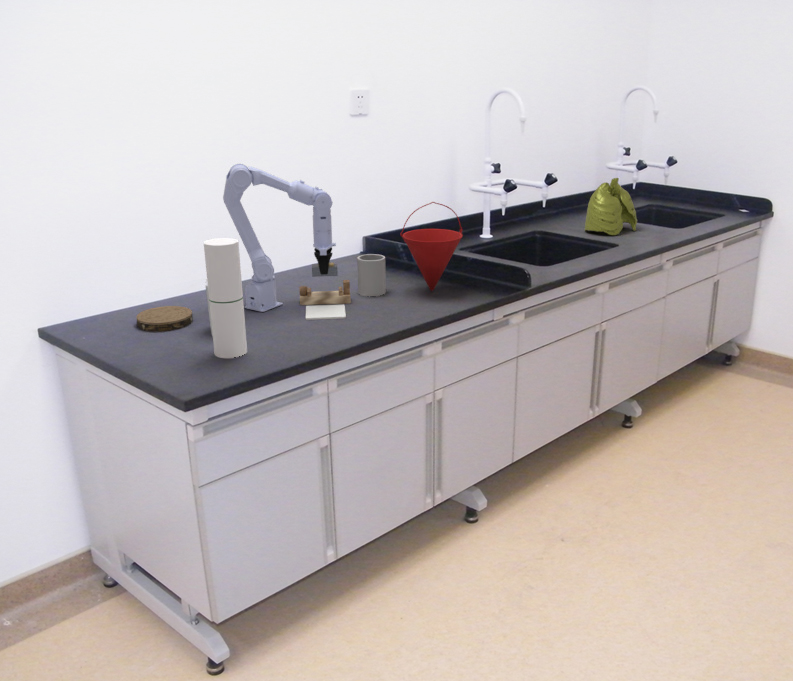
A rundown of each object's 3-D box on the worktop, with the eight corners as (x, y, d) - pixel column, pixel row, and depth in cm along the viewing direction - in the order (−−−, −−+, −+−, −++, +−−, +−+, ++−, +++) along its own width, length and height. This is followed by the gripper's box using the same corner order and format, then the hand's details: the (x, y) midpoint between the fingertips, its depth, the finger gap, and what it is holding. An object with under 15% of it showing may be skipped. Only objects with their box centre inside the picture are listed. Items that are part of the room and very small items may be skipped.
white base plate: (305, 320, 226) (305, 318, 226) (306, 307, 237) (306, 305, 237) (345, 318, 227) (345, 316, 227) (344, 306, 238) (344, 304, 238)
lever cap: (312, 276, 238) (311, 265, 237) (312, 273, 242) (311, 262, 241) (337, 276, 239) (337, 264, 238) (337, 272, 243) (337, 261, 241)
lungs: (606, 238, 326) (611, 181, 317) (578, 232, 337) (582, 177, 329) (642, 230, 340) (648, 176, 331) (614, 225, 351) (619, 172, 343)
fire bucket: (450, 280, 265) (452, 194, 255) (473, 296, 248) (475, 204, 237) (392, 286, 259) (391, 198, 249) (410, 302, 242) (410, 208, 231)
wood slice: (164, 312, 235) (163, 303, 234) (204, 319, 228) (203, 310, 227) (125, 327, 222) (124, 318, 221) (166, 336, 215) (165, 326, 214)
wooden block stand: (299, 305, 240) (298, 285, 238) (300, 299, 246) (299, 280, 243) (350, 303, 241) (350, 283, 239) (349, 297, 247) (349, 278, 245)
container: (218, 346, 206) (208, 237, 195) (250, 346, 205) (241, 237, 195) (210, 358, 198) (199, 245, 187) (243, 358, 197) (233, 245, 187)
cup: (353, 294, 250) (352, 259, 246) (366, 287, 258) (365, 253, 254) (377, 298, 247) (377, 262, 242) (390, 290, 254) (389, 255, 250)
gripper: (335, 234, 229) (337, 278, 234) (334, 224, 242) (336, 266, 247) (312, 235, 228) (314, 278, 233) (312, 225, 242) (314, 266, 247)
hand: (324, 272), depth 240 cm, fingers closed on lever cap, 4 cm apart
